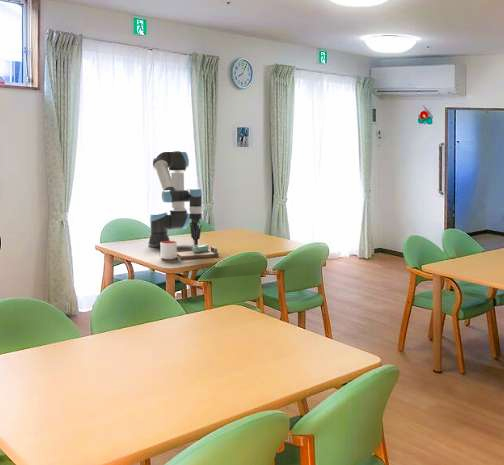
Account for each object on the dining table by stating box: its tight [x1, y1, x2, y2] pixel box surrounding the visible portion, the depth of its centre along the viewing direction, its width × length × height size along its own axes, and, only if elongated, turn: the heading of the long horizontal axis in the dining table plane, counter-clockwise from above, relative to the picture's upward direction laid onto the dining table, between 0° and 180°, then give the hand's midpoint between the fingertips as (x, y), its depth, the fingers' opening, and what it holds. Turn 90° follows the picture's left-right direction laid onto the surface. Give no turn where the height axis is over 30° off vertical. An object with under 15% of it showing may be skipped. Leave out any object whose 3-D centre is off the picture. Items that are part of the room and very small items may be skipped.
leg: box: [191, 243, 209, 253], centre depth 394 cm, size 12×3×4 cm, turn 139°
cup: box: [159, 240, 178, 260], centre depth 383 cm, size 10×10×10 cm
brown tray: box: [176, 245, 219, 260], centre depth 391 cm, size 14×24×5 cm, turn 112°
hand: (195, 249), depth 394 cm, fingers closed
